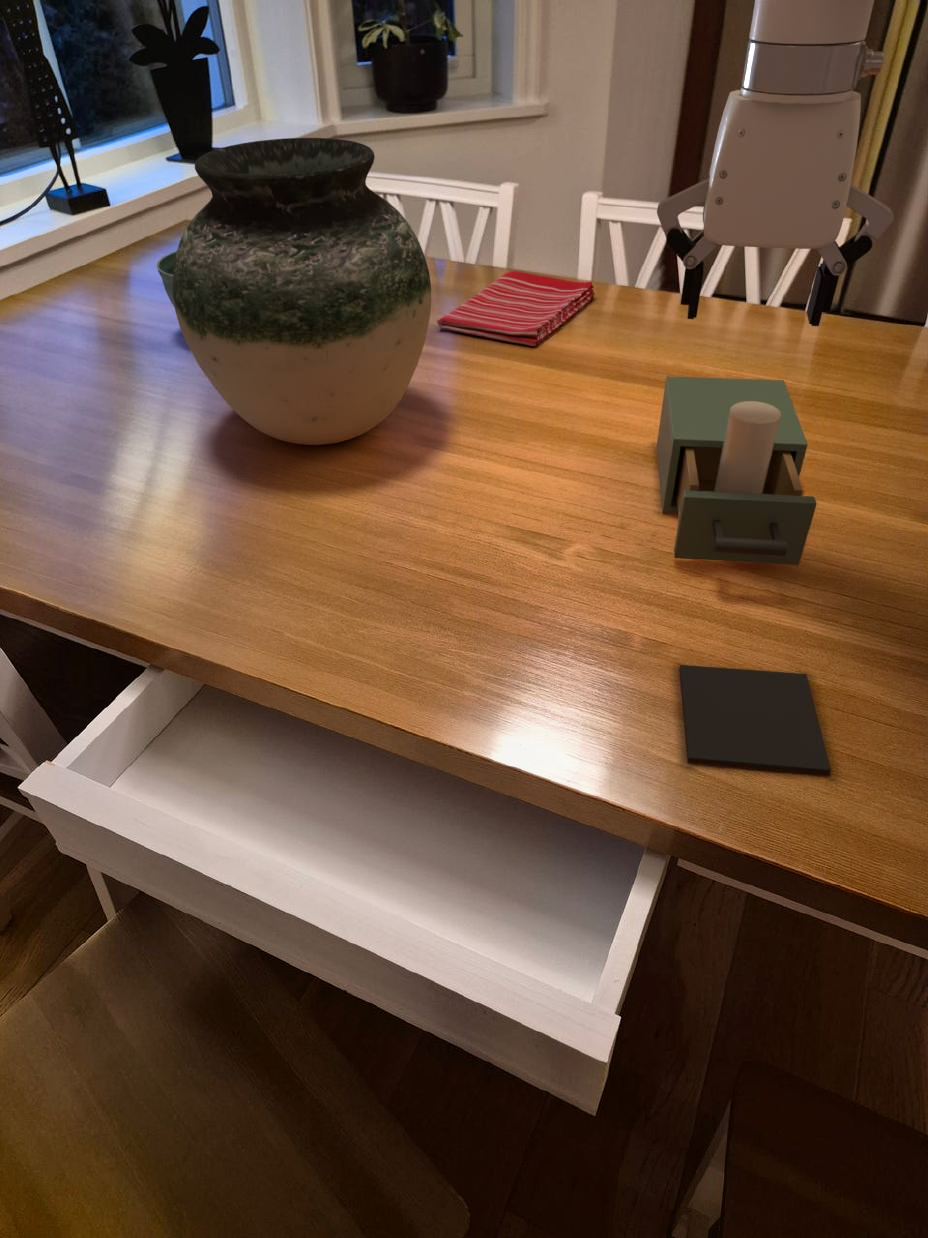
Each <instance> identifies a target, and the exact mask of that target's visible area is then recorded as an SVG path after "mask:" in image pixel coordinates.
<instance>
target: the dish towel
mask: <svg viewBox="0 0 928 1238" xmlns="http://www.w3.org/2000/svg"><path fill="white" fill-rule="evenodd" d="M594 287H595V286H594V285H593V282H592V281H591V280H590V281H573V280H566V279H563V278H557V277H551V276H547V275H546V276H545V275H539V274H534V273H528V272H524V271H517V270H512V271H507V272H505V273H503V274H502V275H501V276H500V277H499V278H497V279H496V280H494V281H493V282H492V283H490V284H489V285H487V286H486V287H484V288H483V289H482V290H481V291H479V292H478V293H476V294H475V295H473V296H472V297H471V298H469V299H467V300H466V301H465V302H464V303H462V304H460V305H459V306H458V307H456V308H454V309H453V310H451V311H450V312H448V313H446V314H443V316H442V317H440V318H439V319H438V320H436V321H437V322H436V323H437V325H438V326H439V328H440V329H442V330H447V331H451V332H457V333H461V334H467V335H472V336H476V337H482V338H487V339H494V340H498V341H502V342H506V343H507V342H509V343H513V344H518V345H519V344H521V345H526V346H529V347H536V346H537V345H539V344H541V343H542V342H543V341H544V340H545V339H546V338H547V337H549V336H550V334H551V333H554V332H555V331H556V330H557V329H558V328H559V327H560V326H561V325H563V324H564V323H565V322H567V321H568V320H570V319H571V317H573V316H574V315H576V314H577V312H579V311H580V310H581V309H583V308H584V307H585V306H586V305H587V304H589V303H590V302H591V301H592V300H594V298H595V295H596V293H595V292H594Z"/></svg>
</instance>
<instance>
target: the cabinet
mask: <svg viewBox="0 0 928 1238" xmlns="http://www.w3.org/2000/svg"><path fill="white" fill-rule="evenodd" d="M745 401H756V402H763V403H766V404H769V405H772V406H774V407H776V408H777V409H778V410H779V411H780V413H781V418H780V422H779V426H778V430H777V434H776V439H775V443H774V447H773V450H783V451H790V453H791V456H792V459H793V462H794V465H795V468H796V471H797V474H798V477H799V478H800V475H801V472H802V468H803V465H804V460H805V456H806V453H807V449H808V446H809V444H808V441H807V439H806V436H805V434H804V431H803V428H802V425H801V422H800V419H799V417H798V415H797V412H796V409H795V407H794V403H793V401H792V399H791V396H790V393H789V389H788V387H787V384H786V382H785V380H783V379H755V378H731V377H729V378H725V377H724V378H723V377H698V376H697V377H695V376H669V375H668V376H666V377H665V384H664V390H663V398H662V405H661V411H660V419H659V426H658V432H657V433H658V434H657V441H656V452H657V465H658V476H659V487H660V488H659V491H660V501H661V513H662V514H669V515H670V514H671V515H673V514H674V515H678V510H677V501H676V492H675V479H676V473H677V467H678V461H679V454H680V448H681V446H689V447H712V448H723V442H724V437H725V432H726V427H727V422H728V417H729V412H730V408H731V407H732V406H733V405H734V404H736V403H739V402H745Z"/></svg>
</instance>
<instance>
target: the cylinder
mask: <svg viewBox="0 0 928 1238" xmlns="http://www.w3.org/2000/svg"><path fill="white" fill-rule="evenodd" d="M780 418H781V413H780V411H779V410H778V409H777V408H776V407H774V406H772V405H769V404H766V403H763V402H756V401H745V402H739V403H736V404H734V405H733V406H732V407H731V408H730V412H729V417H728V422H727V427H726V432H725V437H724V442H723V448H722V453H721V458H720V463H719V468H718V473H717V478H716V483H715V489H714V492H731V493H751V494H762V493H763V489H764V485H765V480H766V476H767V472H768V468H769V464H770V459H771V455H772V451H773V447H774V443H775V439H776V434H777V430H778V426H779V422H780Z"/></svg>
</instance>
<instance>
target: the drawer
mask: <svg viewBox="0 0 928 1238" xmlns="http://www.w3.org/2000/svg"><path fill="white" fill-rule="evenodd" d="M721 453H722V448H712V447H689V446H681V448H680V454H679V461H678V467H677V473H676V479H675V492H676V501H677V510H678V514H677V519H678V523H677V529H676V536H675V541H674V548H673V557H674V559H684V560H700V561H701V560H702V561H717V562H718V561H719V562H735V563H750V564H751V563H753V564H754V563H755V564H769V565H787V566H800V562H801V559H802V556H803V552H804V550H805V549H804V548H805V546H806V541H807V538H808V535H809V531H810V529H811V525H812V521H813V518H814V514H815V511H816V508H817V504H818V503H817V501H816V497H815V496H811V495H809V496H808V495H803V492H804V489H803V486H802V483H801V480H800V476H799V477H798V474H797V471H796V468H795V465H794V462H793V459H792V456H791V453H790V451H783V450H773V451H772V455H771V459H770V464H769V468H768V472H767V476H766V480H765V485H764V489H763V493H762V494H751V493H731V492H714V489H715V483H716V478H717V473H718V468H719V463H720V458H721Z"/></svg>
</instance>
